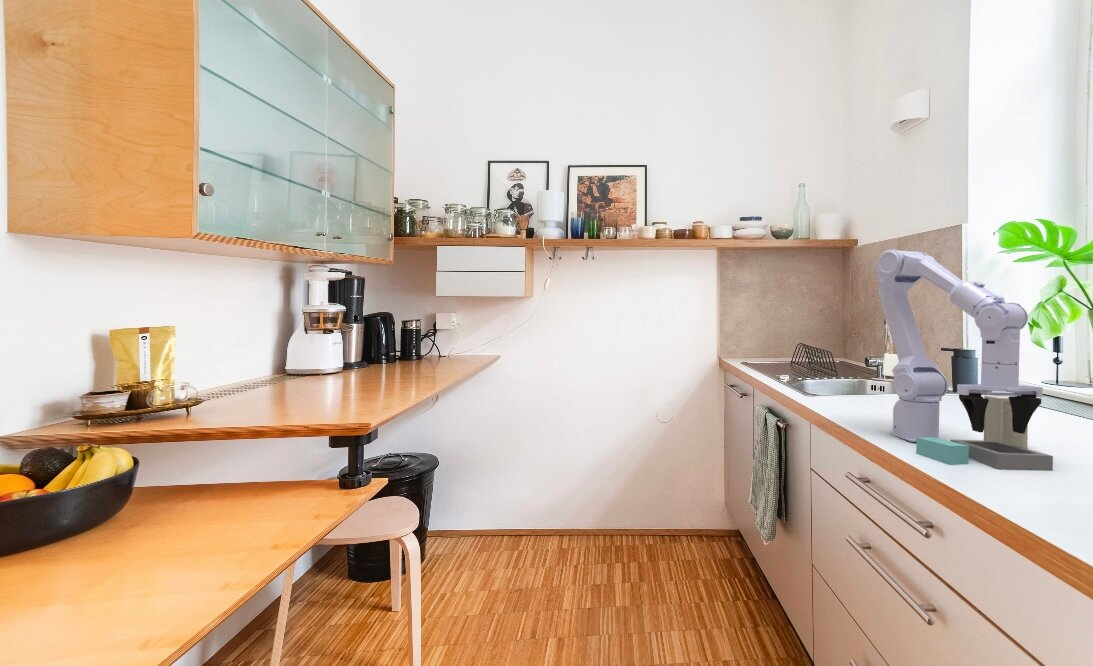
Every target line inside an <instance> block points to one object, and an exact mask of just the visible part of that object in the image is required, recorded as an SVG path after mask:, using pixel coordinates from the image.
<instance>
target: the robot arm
mask: <svg viewBox="0 0 1093 666" xmlns="http://www.w3.org/2000/svg"><path fill="white" fill-rule="evenodd" d="M874 270H875V273H876V277H877V279H878V280H877V294H878V298H879V301H880V304H881V308H882V310H883V311H882V312H883V315H884V317H885V320H886V324H887V327H888V330H889V333H890V336H891V339H892V343H893V346H894V349H895V353H896V356H897V359H898V363H897V364H896V365H894V366H893V368H892V373H893V374H892V375H893V382H892V383H893V384H892V385H893V389H894V392H895V394H897V396H898V400H897V401H896V402H895V403H894V405H893V409H892V431H888V434H889V435H892V436H894V437H896V438H900V439H903V440H906V441H907V442H908V441H909V442H911V443H912V442H913V443H916V440H917V438H925V437H934V438H939V439H943V440H945V439H944V438H941V437H940V405H941V404H940V402H942V397H944V396H945V395H946V394H947V392H948V391H949V381H948V379H947V377H946V376H945V374H943V373H942V371H941V370H940V367H939V365H938V364H937V362H936V361H934V360H932V359H931V358H930V357H929V356H927V351H926V349H925V346H924V343H923V340H922V338H921V334H920V331H919V329H918V325H917V322H916V319H915V315H914V313H913V311H912V307H911V303H910V302H909V298H908V295H907V294H908V292H909V291H910V290H911V289H912V288H914V286H915V285H916V284H917V283H918V282H919V281H920V280H921V279H922V278H923V279H925V280H927V281H928V282H929V283H932V284H933V285H935V286H937V287H938V288H939V289H941V290H943V291H944V292H945V293H947V294H950V295H949V300H950V302H951V303H952V304H953V305H955V306H956V307H958V308H959V309H960V310H962V311H963V312H964V313H966V314H967V315H969V316H970V317H972V318H973V319H974V323H975V324H976V327H977V328H978V329H979V332H980V338H981V371H980V372H981V373H980V374H981V375H980V383H979V384H978V383H977V384H976V383H975V384H970V383H968V384H961V383H960V384H956V385H957V386H956V387H957V388H956V394H957V395H958V399H959V400H960V402H961V404H962V406H963V407H964V408H965V410H966V414H967V416H968V420H969V422H970V425H971V429H972V432H973V431H974V432H977V433H984V418H985V411H986V407H987V404H988V402H989V399H986V398H984V396H1010V397H1009V401H1010V404H1011V409H1012V428H1013V432H1017V433H1021V434H1025V431H1026V428H1027V425H1028V424H1029V423H1030V421H1031V418H1032V416H1033V415H1034V413H1035V412H1036V410H1037V409H1038V407H1039V406H1040V405H1041V404H1042V398H1043V391H1044V388H1043V387H1042V386H1037V385H1036V386H1034V385H1019V383H1020V382H1019V381H1020V380H1019V379H1020V378H1019V377H1020V376H1019V375H1020V347H1021V346H1020V342H1021V330H1022V329H1024V328H1025V326H1026V325H1027V323H1028V320H1029V315H1028V311H1026V309H1025V308H1024V307H1023V306H1022V305H1021V304H1020V303H1018V302H1006V301H1005V297H1004V296H1002V295H998V294H997V295H996V294H995V293H993V292H991V291H990V290H988V289H987V288H985V286H986V284H985V283H983V281H974V280H967V281H963V280H962V279H961V278H959V277H958V276H956V275H955V274H954V273H953V272H952V271H950V270H948V269H947V268H945V267H944V266H943V265H942V264H940V263H939V262H937V260H936V259H935V258H934V257H933V256H931V255H928V254H927V253H926V252H923V251H922V250H916V251H913V250H912V251H909V250H908V251H907V250H896V249H893V248H891V249H890V248H889V249H886V250H885V251H882V253H880V255H879V257H878V259H877V261H876V262H875V264H874ZM1028 426H1029V425H1028ZM946 440H947V439H946ZM947 441H949V440H947Z"/></svg>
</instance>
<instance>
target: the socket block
mask: <svg viewBox="0 0 1093 666" xmlns="http://www.w3.org/2000/svg"><path fill="white" fill-rule="evenodd" d="M949 441H951V442H956V443H960V444H964V445H969V459H971V460H974V461H976V462H978V463H981V464H982V465H986V466H988V467H990V468H993V469H995V470H997V469H998V470H1000V471H1046V472H1047V471H1049V472H1050V471H1052V472H1053V471H1054V469H1053V468H1054V467H1053V466H1054V463H1053V462H1054V456H1053V455H1051V454H1048V453H1043V452H1040V451H1037V450H1032V449H1029V448H1027V449H1026V448H1022V447H1018V446H1015V445H1011V444H1008V443H1004V442H1000V441H984V440H981V439H980V440H978V439H977V440H974V439H950V440H949ZM1004 469H1005V470H1004ZM998 470H997V471H998Z"/></svg>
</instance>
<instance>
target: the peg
mask: <svg viewBox="0 0 1093 666" xmlns="http://www.w3.org/2000/svg"><path fill="white" fill-rule="evenodd" d="M939 438H940V437H939ZM939 438H934V437H925V438H917V440H916V442H915V443H916V447H915V448H916V449H915V450H916V452H915V454H917V455H919V456H922V457H925V458H929V459H931V460H934V461H937V462H940V463H943V464H946V465H950V466H957V465H969V459H970V458H969V445H964V444H960V443H956V442H951V441H950V440H948V441H947V439H944V438H941V439H939ZM943 439H944V440H943Z"/></svg>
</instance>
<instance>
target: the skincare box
mask: <svg viewBox="0 0 1093 666" xmlns="http://www.w3.org/2000/svg"><path fill="white" fill-rule="evenodd" d="M1009 397H1010V396H999V395H983V398H986V399H989V402H988V404H987V407H986V411H985V418H984V430H983V441H1000V442H1004V443H1008V444H1011V445H1015V446H1018V447H1022V448H1026V449H1028V441H1029V440H1028V439H1029V438H1028V437H1029V436H1028V433H1029V430H1028V429H1029V427H1028V426H1029V425H1027V428H1026V431H1025V434H1021V433H1017V432H1013V428H1012V409H1011V404H1010V401H1009Z"/></svg>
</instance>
